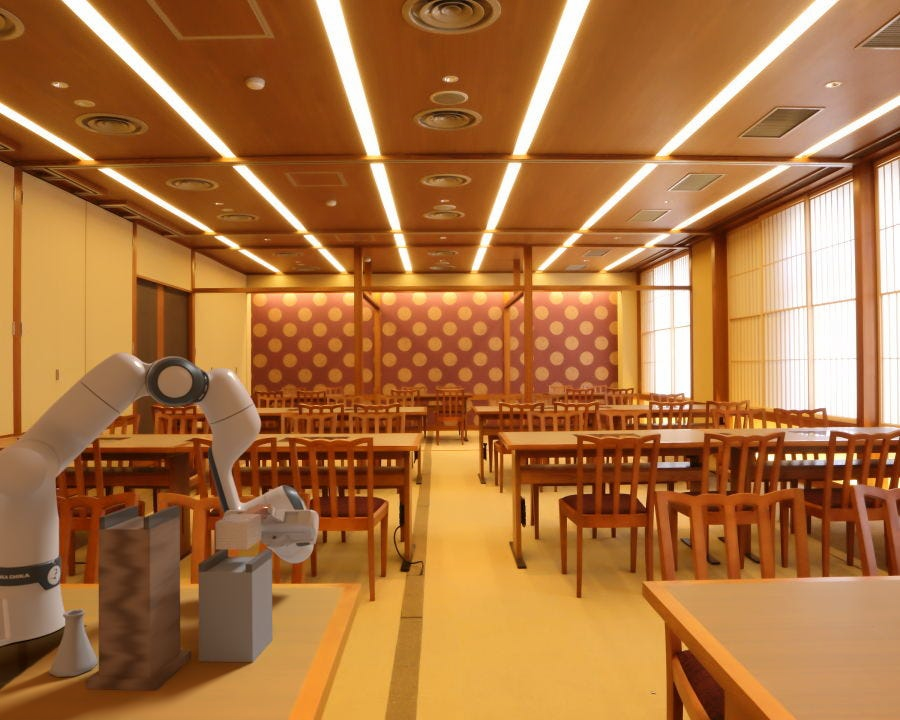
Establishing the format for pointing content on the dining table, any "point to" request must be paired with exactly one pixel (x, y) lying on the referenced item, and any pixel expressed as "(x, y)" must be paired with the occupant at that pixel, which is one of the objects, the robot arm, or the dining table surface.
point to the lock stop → (241, 528)
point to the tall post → (139, 600)
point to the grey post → (235, 607)
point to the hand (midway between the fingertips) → (259, 510)
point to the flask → (73, 648)
